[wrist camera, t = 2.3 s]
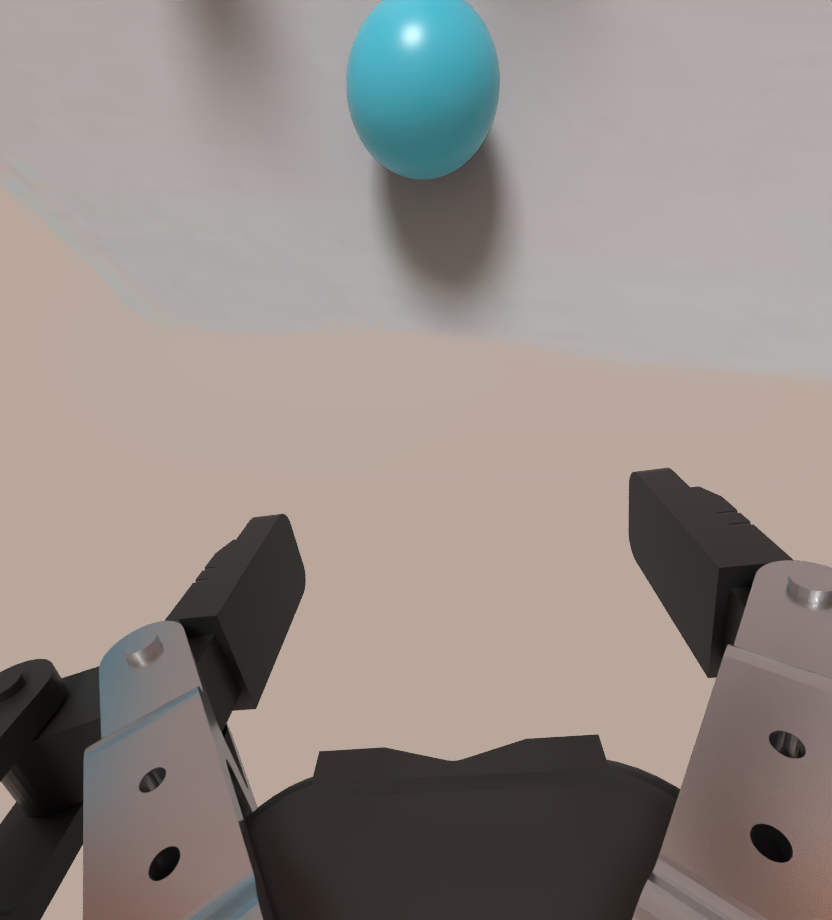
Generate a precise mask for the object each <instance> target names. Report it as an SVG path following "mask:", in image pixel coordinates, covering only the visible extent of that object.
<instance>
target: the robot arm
mask: <svg viewBox="0 0 832 920" xmlns="http://www.w3.org/2000/svg"><path fill="white" fill-rule="evenodd" d="M629 541H630V546H631V550H632V553H633V556H634V558H635V560H636V562H637V564H638V565H639V567H640V568H641V570H642V572H643V573H644V575H645V576H646V578H647V580H648V581H649V583H650V584H651V586H652V588H653V590H654V591H655V592H656V594H657V596H658V598H659V599H660V601H661V602H662V604H663V606H664V607H665V609H666V611H667V612H668V614H669V615H670V617H671V619H672V620H673V622H674V624H675V625H676V627H677V628H678V630H679V632H680V633H681V635H682V637H683V638H684V640H685V641H686V643H687V645H688V646H689V648H690V649H691V651H692V653H693V654H694V656H695V658H696V659H697V661H698V662H699V664H700V666H701V667H702V669H703V671H704V672H705V674H706V675H707V677H708V678H714V677H717V678H716V681H715V684H714V687H713V690H712V693H711V696H710V699H709V702H708V705H707V709H706V712H705V715H704V718H703V721H702V724H701V727H700V730H699V733H698V736H697V739H696V743H695V746H694V749H693V752H692V755H691V758H690V761H689V764H688V767H687V771H686V774H685V777H684V780H683V783H682V786H681V789H679V788H677V787H676V786H674V785H672V784H670V783H668V782H667V781H665V780H663V779H661V778H659V777H657V776H655V775H653V774H650V773H648V772H646V771H643V770H641V769H639V768H635V767H632V766H629V765H626V764H623V763H619V762H615V761H610V760H606V757H605V754H604V751H603V748H602V745H601V742H600V738H599V735H583V736H567V737H550V738H534V739H525V740H522V741H518V742H515V743H512V744H509V745H506V746H503V747H500V748H497V749H493V750H490V751H488V752H484V753H481V754H478V755H475V756H472V757H469V758H466V759H462V760H458V761H447V760H442V759H437V758H432V757H428V756H423V755H417V754H413V753H408V752H404V751H399V750H394V749H389V748H369V749H353V750H337V751H320V752H319V755H318V759H317V764H316V767H315V772H314V775H313V777H311V778H308V779H305V780H303V781H301V782H299V783H297V784H295V785H293V786H290V787H288V788H287V789H285V790H283V791H282V792H280V793H278V794H277V795H275V796H273V797H272V798H271V799H269V800H268V801H267V802H265V803H264V804H262V805H261V806H259V807H257V804H256V802H255V799H254V796H253V793H252V790H251V787H250V784H249V782H248V779H247V776H246V773H245V771H244V767H243V764H242V762H241V759H240V756H239V753H238V750H237V747H236V744H235V742H234V739H233V736H232V733H231V731H230V729H229V726H228V724H227V721H228V719H229V717H230V714H231V712H232V711H233V710H246V709H256V707H257V705H258V702H259V700H260V697H261V695H262V693H263V690H264V688H265V686H266V683H267V680H268V678H269V676H270V673H271V671H272V669H273V666H274V664H275V661H276V659H277V656H278V654H279V652H280V649H281V647H282V644H283V642H284V639H285V637H286V635H287V632H288V630H289V627H290V625H291V623H292V620H293V618H294V615H295V613H296V610H297V608H298V605H299V603H300V600H301V598H302V596H303V593H304V590H305V570H304V566H303V562H302V559H301V556H300V553H299V550H298V546H297V543H296V540H295V537H294V533H293V530H292V527H291V524H290V521H289V519H288V517H287V516H286V515H284V514H278V515H271V516H262V517H254V518H252V519H251V520H250V521H249V523H248V524H247V525H246V527H245V528H244V530H243V531H242V532H241V534H240V535H239V537H238V538H237V539H236V540H232V541H231V542H230V543H229V544H227V545H226V546H225V547H223V548H222V549H221V550H219V551H218V552H217V553H216V554H215V555H214V556H213V558H212V559H211V560H210V561H209V563H208V564H207V566H206V567H205V571H202V572H201V573H200V575H199V576H198V577H197V579H196V583H193V584H192V585H191V587H190V588H189V589H188V591H187V592H186V593H185V594H184V596H183V597H182V599H181V600H180V601H179V602H178V604H177V605H176V606H175V608H174V609H173V610H172V612H171V613H170V614H169V616H168V617H167V618H166V620H165V621H160V622H156V623H152V624H149V625H146V626H144V627H141V628H139V629H137V630H135V631H133V632H131V633H130V634H128V635H127V636H125V637H124V638H122V639H121V640H119V641H118V642H117V643H116V644H115V645H114V646H113V647H112V648H111V649H110V650H109V651H108V652H107V653H106V654H105V656H104V657H103V659H102V661H101V663H100V666H99V667H96V668H92V669H89V670H86V671H83V672H80V673H77V674H74V675H71V676H68V677H65V678H61V677H60V675H59V674H58V672H57V670H56V669H55V667H54V666H53V664H52V663H51V662H50V661H48V660H46V659H35V660H30V661H26V662H23V663H20V664H17V665H14V666H12V667H10V668H8V669H6V670H4V671H2V672H0V781H1V782H2V784H3V785H4V786H5V787H6V789H7V790H8V791H9V792H10V793H11V795H12V796H13V798H14V799H15V800H16V803H15V805H14V806H13V807H12V809H11V810H10V811H9V813H8V814H7V816H6V817H5V818H4V820H3V821H2V823H1V824H0V920H40V919H41V918H42V916H43V914H44V912H45V910H46V909H47V907H48V905H49V903H50V901H51V900H52V898H53V896H54V895H55V893H56V891H57V889H58V887H59V886H60V884H61V882H62V880H63V878H64V877H65V875H66V873H67V871H68V869H69V868H70V866H71V864H72V863H73V861H74V859H75V857H76V855H77V854H78V852H79V850H80V848H81V846H82V845H83V920H832V568H830V567H827V566H824V565H820V564H816V563H811V562H805V561H794V560H793V559H792V558H791V557H789V556H788V555H787V554H786V553H785V552H784V551H783V550H782V549H780V548H779V547H778V546H777V545H776V544H775V543H774V542H773V541H771V540H770V539H769V538H768V537H767V536H766V535H765V534H763V533H762V532H761V531H760V530H759V529H758V528H757V527H756V526H754V525H751V524H750V521H749V520H748V519H746V518H745V517H744V516H743V515H742V514H741V513H738V512H737V510H736V509H735V508H734V507H733V506H732V505H731V504H730V503H728V502H727V501H726V500H725V499H724V498H723V497H721V496H719V495H717V494H715V493H712V492H710V491H708V490H705V489H703V488H701V487H689V486H688V485H687V484H686V483H685V482H684V481H683V480H682V479H681V478H680V477H679V476H678V475H677V474H676V473H675V472H674V471H672V470H671V469H670V468H662V469H654V470H646V471H639V472H633V473H632V474H631V476H630V480H629Z"/></svg>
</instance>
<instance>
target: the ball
mask: <svg viewBox="0 0 832 920" xmlns="http://www.w3.org/2000/svg"><path fill="white" fill-rule="evenodd" d="M499 87H500V75H499V65H498V58H497V54H496V50H495V47H494V44H493V41H492V39H491V36H490V33H489V31H488V29H487V27H486V26H485V24H484V22H483V20H482V19H481V18H480V16H479V15H478V13H477V12H476V11H475V10H474V9H473V8H472V7H471V6H470V5H469V4H468V3H467V2H466V1H465V0H383V1H381V2H380V3H379V4H378V5H377V6H376V7H375V8H374V9H373V10H372V11H371V13H370V14H369V15H368V17H367V18H366V19H365V21H364V22H363V24H362V26H361V27H360V29H359V31H358V33H357V35H356V38H355V40H354V42H353V46H352V49H351V52H350V56H349V61H348V67H347V99H348V106H349V110H350V114H351V118H352V121H353V124H354V126H355V129H356V131H357V133H358V135H359V137H360V139H361V141H362V143H363V144H364V146H365V147H366V149H367V150H368V151H369V153H370V154H371V155H372V156H373V157H374V158H375V159H376V160H377V161H378V162H379V163H380V164H381V165H383V166H384V167H386V168H387V169H388V170H390V171H392V172H394V173H396V174H398V175H400V176H403V177H406V178H411V179H418V180H427V179H435V178H438V177H442V176H445V175H447V174H449V173H452V172H453V171H455V170H456V169H458V168H460V167H461V166H462V165H463V164H465V163H466V162H467V161H468V160H469V159H470V158H471V157H472V156H473V155H474V154H475V153H476V151H477V150H478V149H479V147H480V146H481V145H482V143H483V141H484V140H485V138H486V136H487V134H488V132H489V130H490V128H491V125H492V123H493V120H494V117H495V113H496V109H497V104H498V98H499Z"/></svg>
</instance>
